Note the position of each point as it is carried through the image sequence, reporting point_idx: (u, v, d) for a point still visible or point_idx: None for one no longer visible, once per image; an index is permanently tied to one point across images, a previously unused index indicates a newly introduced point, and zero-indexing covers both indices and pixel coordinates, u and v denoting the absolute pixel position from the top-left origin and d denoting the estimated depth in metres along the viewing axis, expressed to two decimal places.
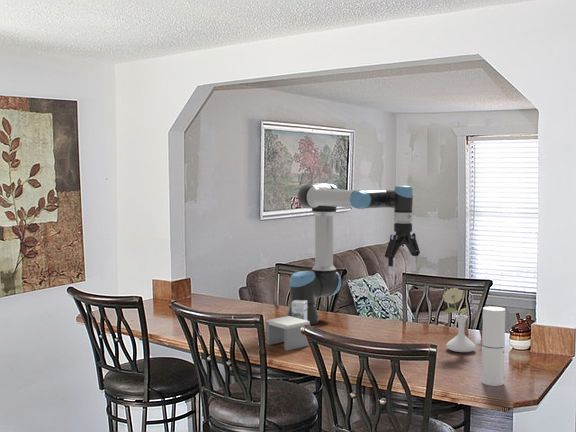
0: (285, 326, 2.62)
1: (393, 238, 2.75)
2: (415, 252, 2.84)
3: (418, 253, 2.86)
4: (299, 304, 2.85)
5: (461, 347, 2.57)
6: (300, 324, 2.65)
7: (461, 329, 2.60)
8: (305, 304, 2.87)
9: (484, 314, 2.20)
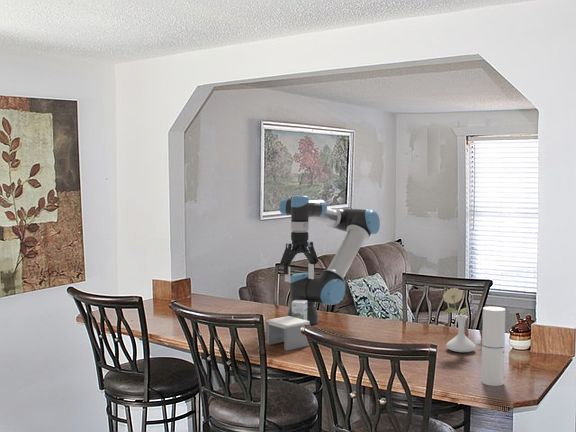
0: (285, 326, 2.62)
1: (288, 247, 2.81)
2: (313, 260, 2.91)
3: (316, 261, 2.92)
4: (299, 304, 2.85)
5: (461, 347, 2.57)
6: (300, 324, 2.65)
7: (461, 329, 2.60)
8: (305, 304, 2.87)
9: (484, 314, 2.20)
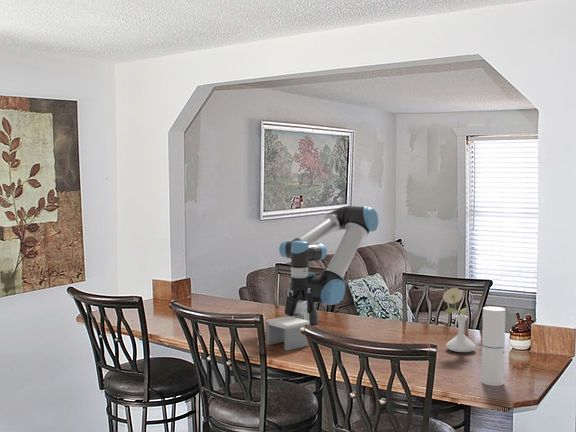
0: (285, 326, 2.62)
1: (289, 295, 2.83)
2: (309, 309, 2.90)
3: (312, 309, 2.92)
4: (299, 304, 2.85)
5: (461, 347, 2.57)
6: (300, 324, 2.65)
7: (461, 329, 2.60)
8: (305, 304, 2.87)
9: (484, 314, 2.20)
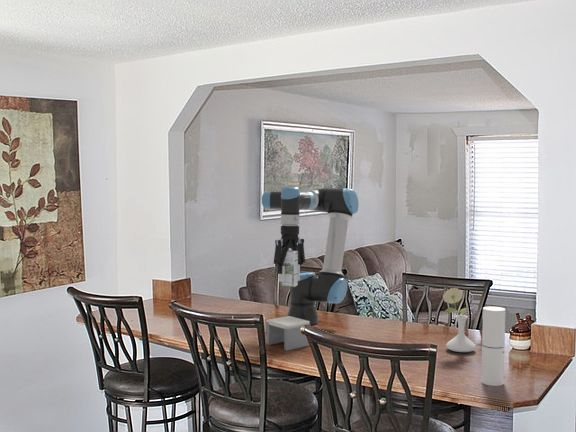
0: (285, 326, 2.62)
1: (278, 244, 2.66)
2: (300, 260, 2.73)
3: (303, 261, 2.74)
4: (289, 253, 2.68)
5: (461, 347, 2.57)
6: (300, 324, 2.65)
7: (461, 329, 2.60)
8: (295, 254, 2.70)
9: (484, 314, 2.20)
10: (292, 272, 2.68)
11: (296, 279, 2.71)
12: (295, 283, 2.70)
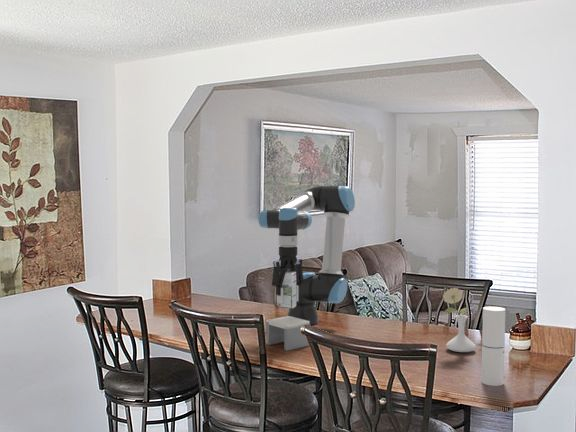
0: (285, 326, 2.62)
1: (276, 265, 2.63)
2: (298, 281, 2.71)
3: (301, 282, 2.72)
4: (287, 275, 2.65)
5: (461, 347, 2.57)
6: (300, 324, 2.65)
7: (461, 329, 2.60)
8: (294, 275, 2.67)
9: (484, 314, 2.20)
10: (291, 294, 2.66)
11: (295, 300, 2.69)
12: (294, 304, 2.68)
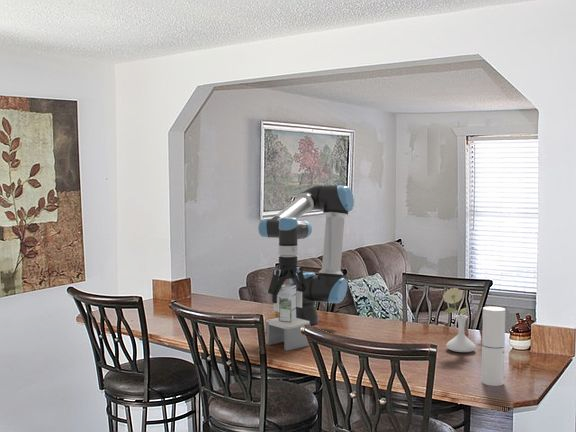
0: (285, 326, 2.62)
1: (276, 273, 2.63)
2: (301, 287, 2.72)
3: (305, 288, 2.73)
4: (286, 289, 2.66)
5: (461, 347, 2.57)
6: (300, 324, 2.65)
7: (461, 329, 2.60)
8: (293, 289, 2.67)
9: (484, 314, 2.20)
10: (290, 307, 2.66)
11: (294, 314, 2.69)
12: (293, 318, 2.68)
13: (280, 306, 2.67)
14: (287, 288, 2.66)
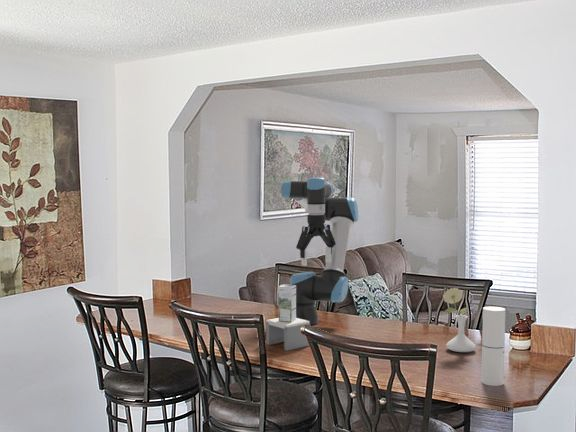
0: (285, 326, 2.62)
1: (304, 230, 2.77)
2: (330, 243, 2.86)
3: (333, 244, 2.87)
4: (286, 289, 2.66)
5: (461, 347, 2.57)
6: (300, 324, 2.65)
7: (461, 329, 2.60)
8: (293, 289, 2.67)
9: (484, 314, 2.20)
10: (290, 307, 2.66)
11: (294, 314, 2.69)
12: (293, 318, 2.68)
13: (280, 306, 2.67)
14: (287, 288, 2.66)
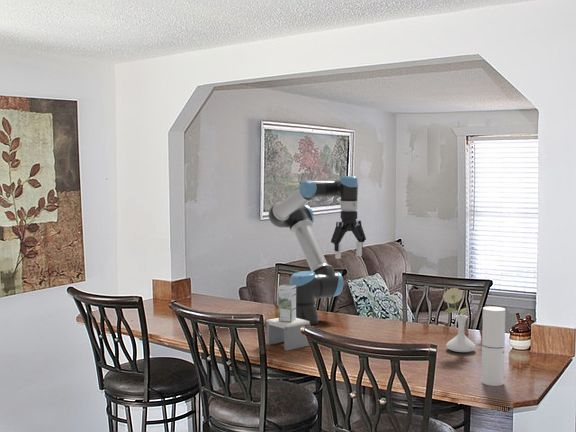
0: (285, 326, 2.62)
1: (339, 225, 2.95)
2: (361, 238, 3.04)
3: (364, 239, 3.05)
4: (287, 289, 2.66)
5: (461, 347, 2.57)
6: (300, 324, 2.65)
7: (461, 329, 2.60)
8: (293, 289, 2.67)
9: (484, 314, 2.20)
10: (290, 307, 2.66)
11: (294, 314, 2.69)
12: (293, 318, 2.68)
13: (280, 306, 2.67)
14: (287, 288, 2.66)
